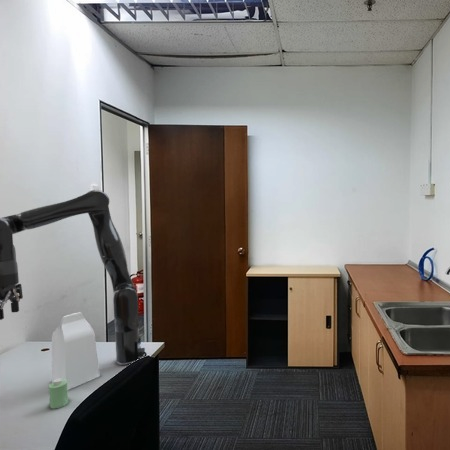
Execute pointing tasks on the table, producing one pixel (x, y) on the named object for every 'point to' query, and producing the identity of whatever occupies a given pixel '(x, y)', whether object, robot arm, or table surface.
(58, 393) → the soap bottle
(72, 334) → the milk
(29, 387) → the table surface
